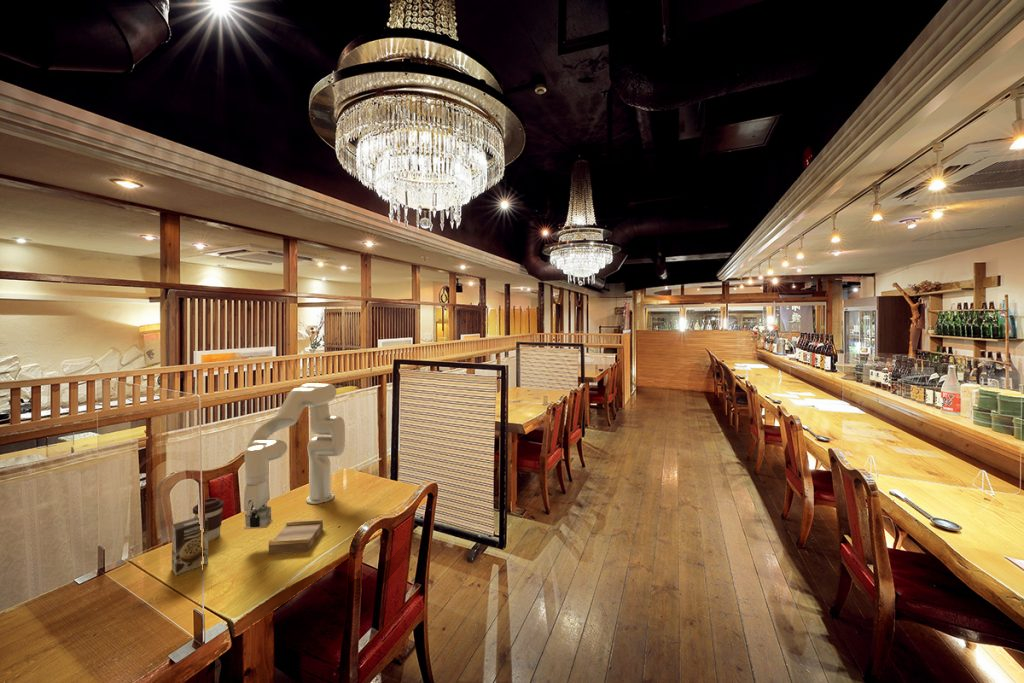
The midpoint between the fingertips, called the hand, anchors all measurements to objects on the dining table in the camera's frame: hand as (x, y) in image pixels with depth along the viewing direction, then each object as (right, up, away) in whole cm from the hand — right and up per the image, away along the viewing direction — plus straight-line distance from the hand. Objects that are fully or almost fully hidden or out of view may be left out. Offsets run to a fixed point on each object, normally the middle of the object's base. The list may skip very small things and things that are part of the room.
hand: (258, 522), depth 146 cm
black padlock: (0, -1, 0) cm, 1 cm away
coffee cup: (-24, -9, +6) cm, 27 cm away
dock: (+13, -9, +3) cm, 17 cm away
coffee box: (-15, -9, -13) cm, 23 cm away
